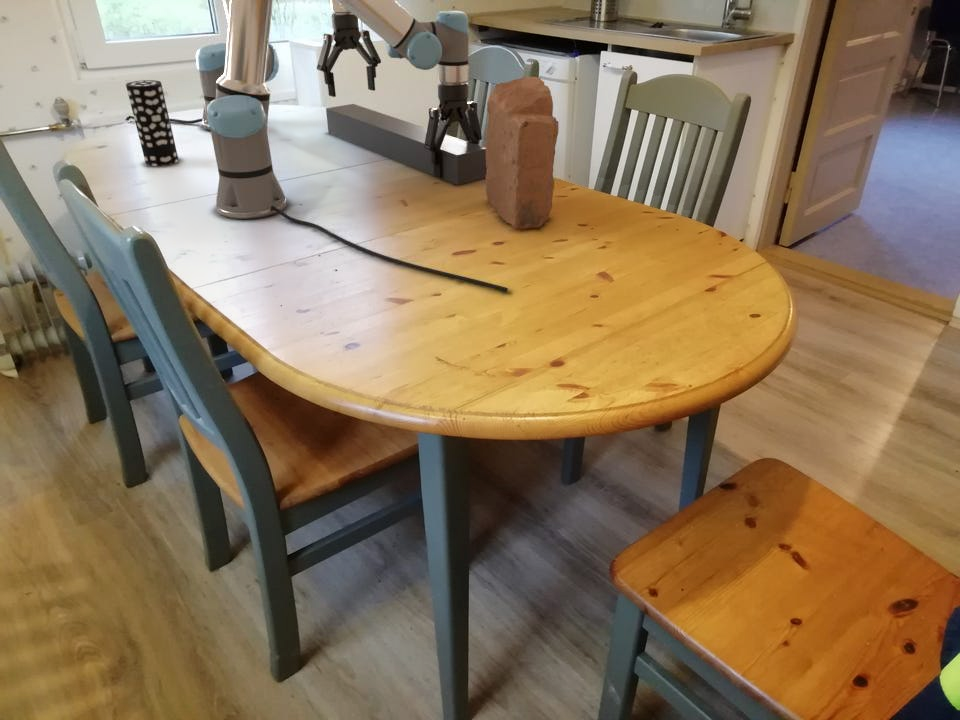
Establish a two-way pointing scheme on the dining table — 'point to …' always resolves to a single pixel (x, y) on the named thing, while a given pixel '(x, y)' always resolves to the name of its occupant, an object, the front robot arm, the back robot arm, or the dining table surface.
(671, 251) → the dining table surface
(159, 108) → the black white spotted cylinder
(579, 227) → the dining table surface
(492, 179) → the stone
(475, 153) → the wide beam
